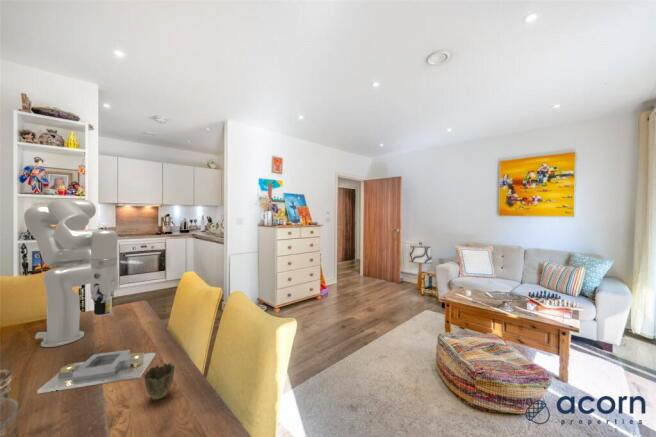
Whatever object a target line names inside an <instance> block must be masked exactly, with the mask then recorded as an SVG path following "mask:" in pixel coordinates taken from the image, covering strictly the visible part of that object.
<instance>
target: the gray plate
mask: <svg viewBox="0 0 656 437" xmlns="http://www.w3.org/2000/svg"><path fill="white" fill-rule="evenodd" d="M155 356H156V352H148V353H145V352H144V351H143V352H136V353H131V349H126V350H125V349H124V350H117V351H110V352H101V353H94V354H92V355H91V356H90V357H89V358H88V359H87V360H85V361H82V362H81V361H80V362H73V363H68V364H65V365H63V366H62V367H60V371H59V372H58V373H57V374H55V375H54V376H53V377H52V378H50V380H48V381H46V383H45V384H43V385H42V386H41V387H40V388H38V389H37V393H36V394H37V395H38V394H46V393H50V392H51V391H52V392H57V391H56V390H58V391H64V390H69V389H70V390H71V389H77V388H83V387H89V386H96V385H101V384H107V383H114V382H121V381H126V380H128V381H129V380H132V379H133V380H134V379H140V378H142V376H143V375H144V374H145V372H146V371H147V370H146V369H147V368H148V367H149V366H150V364H151V363H152V361H153V359H154V358H155Z"/></svg>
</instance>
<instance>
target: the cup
mask: <svg viewBox="0 0 656 437" xmlns="http://www.w3.org/2000/svg"><path fill="white" fill-rule="evenodd" d="M145 372H146V373H143V375H144V376H143V377H144V384H145V390H146V393H147V394H148V395H149V396H150V397H151V399H152V400H153V401H159V400H162V399H164V398H165V397H166V396H167V394H168V391H169V390H170V388H171V386H172V385H173V380H174V374H175V365H174V364H172V363H171V362H170V363H168V364H167V363H166V362H165V363H164V364H163V365H161V366H159V365H158V364H156V366H155V367H154V366H151V367H150V369H149V370H145Z"/></svg>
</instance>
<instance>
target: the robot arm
mask: <svg viewBox="0 0 656 437" xmlns="http://www.w3.org/2000/svg"><path fill="white" fill-rule="evenodd" d="M96 211H97V209H96V206H95V204H94V203H93V202H92V201H90V200H88V199H78V198H77V199H76V198H75V199H74V198H57V199H54V200H52V201H50V202H49V203H48V205H36V206H31V207H29V208H27V209H26V210H25V212H24V214H23V219H24V224H25V227H26V229H27V230H28V231H29V233H30V234H31V235H32V237H33V238H34V239H35V241H36V243H37V247H38V250H39V253H40V256H41V259H42V261H43V263H44V265H45V266H47V267H52V268H50V269H48V270H47V271H46V272H45V273H44V274H43V283H44V288H45V292H46V331H40V332H39V331H38V332H36V334H35V336H34V339H35V340H38V339H39V340H40V339H42V340H41V342H40V346H41V347H43V348H54V347H60V346H61V347H62V346H65V345H68V344H71V343H74V342H76V341H79V340H80V339H82V338H83V337H84V336H85V331H83V330H80V312H81V311H80V309H81V308H80V307H81V306H80V302H81V301H80V295H79V293H78V292H76V291H75V290H74V289H73V288H74V287H79V286H80V287H81V286H83V285H84V286H85V285H89V284H90V288H89V290H90V291H89V293H90V299H91V300H92V301H93V314H94V315H96V314H102V313H105V312H106V302H104V300H105V295H107V294H109V293H111V296H112V308H114V296H115V294H114V293H115V291H116V290H117V289H119V270H118V233H117V231H115V230H107V229H100V228H99V229H84V228H86V227H87V226H88V225H89V223H90V220H91V219H92V218H94V216H95V215H96ZM55 225H56V226H55ZM53 226H55V227H53ZM98 293H102V294H98ZM98 296H102V298H100V297H98Z"/></svg>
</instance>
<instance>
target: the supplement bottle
mask: <svg viewBox="0 0 656 437" xmlns="http://www.w3.org/2000/svg"><path fill="white" fill-rule="evenodd" d="M98 294H102V293H98ZM98 297H100V298H102V296H98ZM104 302H106V312H105V313H102V314H95V316H96V317H103V316H107V315H111V314H112V313H113V307H112V296H111V293H109V294H107V295H105V300H104Z"/></svg>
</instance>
